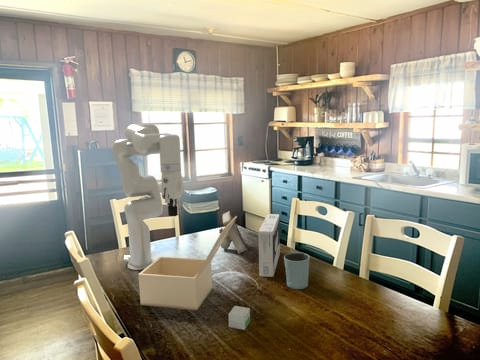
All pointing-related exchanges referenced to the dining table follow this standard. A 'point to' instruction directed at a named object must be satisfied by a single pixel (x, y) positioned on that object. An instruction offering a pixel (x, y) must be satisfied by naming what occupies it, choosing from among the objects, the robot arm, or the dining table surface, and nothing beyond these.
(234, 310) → the small box
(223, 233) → the lid flap
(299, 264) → the blue gray cup
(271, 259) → the packaging
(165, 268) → the carton
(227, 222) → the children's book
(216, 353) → the dining table surface
